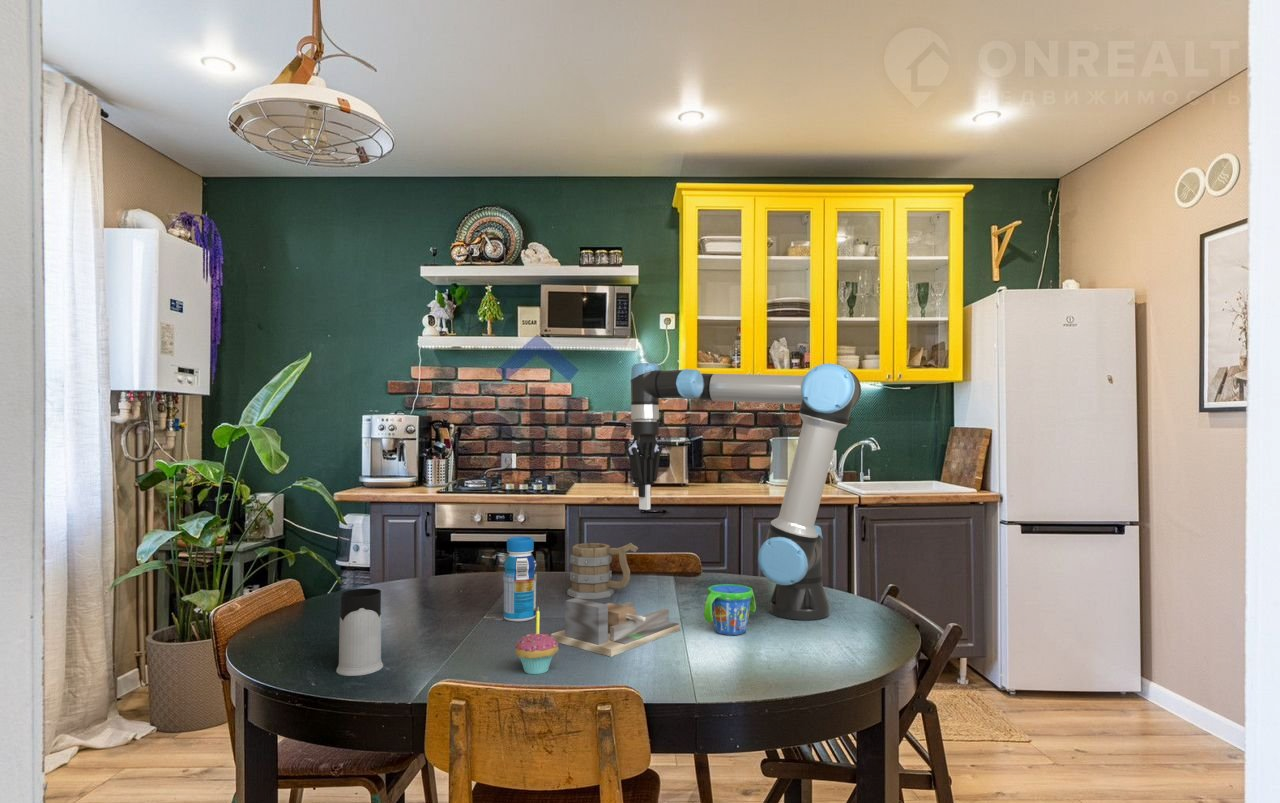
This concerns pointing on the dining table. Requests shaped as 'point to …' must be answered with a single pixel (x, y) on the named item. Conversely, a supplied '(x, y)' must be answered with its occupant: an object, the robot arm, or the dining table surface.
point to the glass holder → (360, 632)
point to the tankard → (596, 570)
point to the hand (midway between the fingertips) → (644, 509)
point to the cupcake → (536, 650)
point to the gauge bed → (591, 628)
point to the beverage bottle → (520, 580)
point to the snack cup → (729, 608)
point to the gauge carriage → (621, 614)
